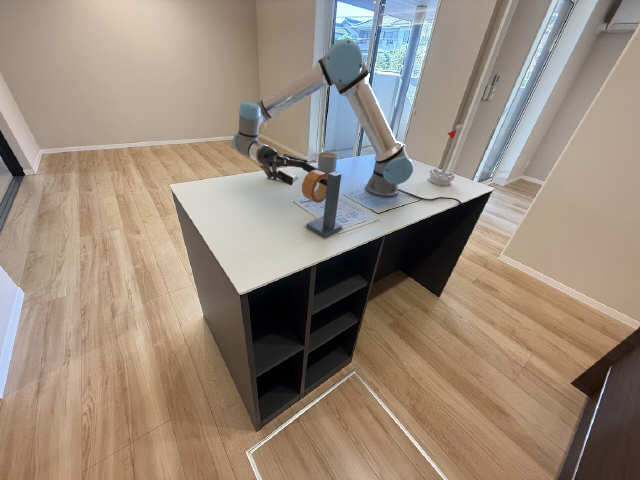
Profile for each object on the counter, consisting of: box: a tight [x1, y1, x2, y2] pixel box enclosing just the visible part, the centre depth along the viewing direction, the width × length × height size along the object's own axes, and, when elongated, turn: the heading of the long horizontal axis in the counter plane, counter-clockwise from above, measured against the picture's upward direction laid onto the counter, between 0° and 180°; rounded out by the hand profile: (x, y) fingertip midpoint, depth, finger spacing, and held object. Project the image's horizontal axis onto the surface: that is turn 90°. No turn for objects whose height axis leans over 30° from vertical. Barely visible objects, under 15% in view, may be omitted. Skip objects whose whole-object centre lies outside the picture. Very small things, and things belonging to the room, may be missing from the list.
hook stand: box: [306, 171, 343, 239], centre depth 86 cm, size 9×13×21 cm
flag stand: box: [428, 124, 463, 187], centre depth 133 cm, size 13×13×30 cm
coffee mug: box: [317, 151, 338, 174], centre depth 137 cm, size 13×10×10 cm
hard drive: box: [268, 170, 298, 183], centre depth 126 cm, size 2×8×12 cm
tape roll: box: [301, 170, 328, 204], centre depth 85 cm, size 10×5×10 cm, turn 137°
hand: (305, 176), depth 89 cm, fingers open, 13 cm apart
